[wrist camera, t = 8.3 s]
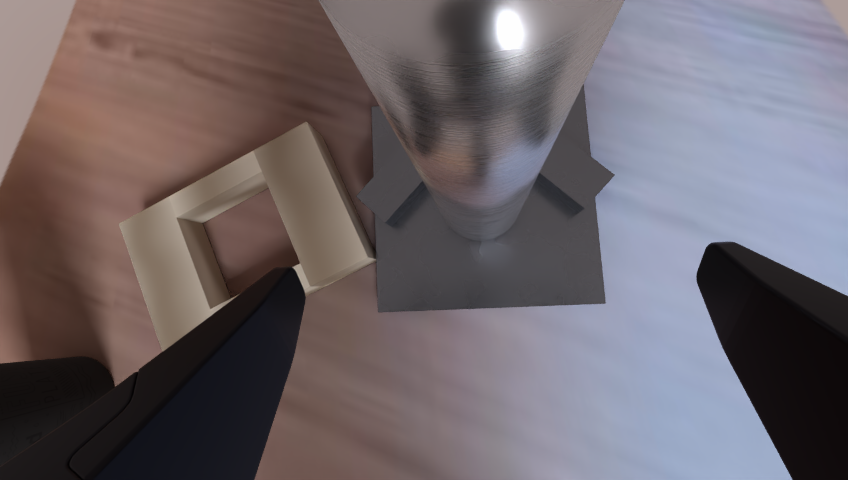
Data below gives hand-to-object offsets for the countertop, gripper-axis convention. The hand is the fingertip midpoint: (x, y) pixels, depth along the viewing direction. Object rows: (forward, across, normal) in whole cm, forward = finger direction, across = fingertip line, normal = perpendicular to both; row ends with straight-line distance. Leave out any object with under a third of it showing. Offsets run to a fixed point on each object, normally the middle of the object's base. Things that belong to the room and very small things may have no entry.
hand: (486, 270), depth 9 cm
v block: (+11, 0, +5) cm, 12 cm away
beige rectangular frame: (+10, +13, +6) cm, 18 cm away
